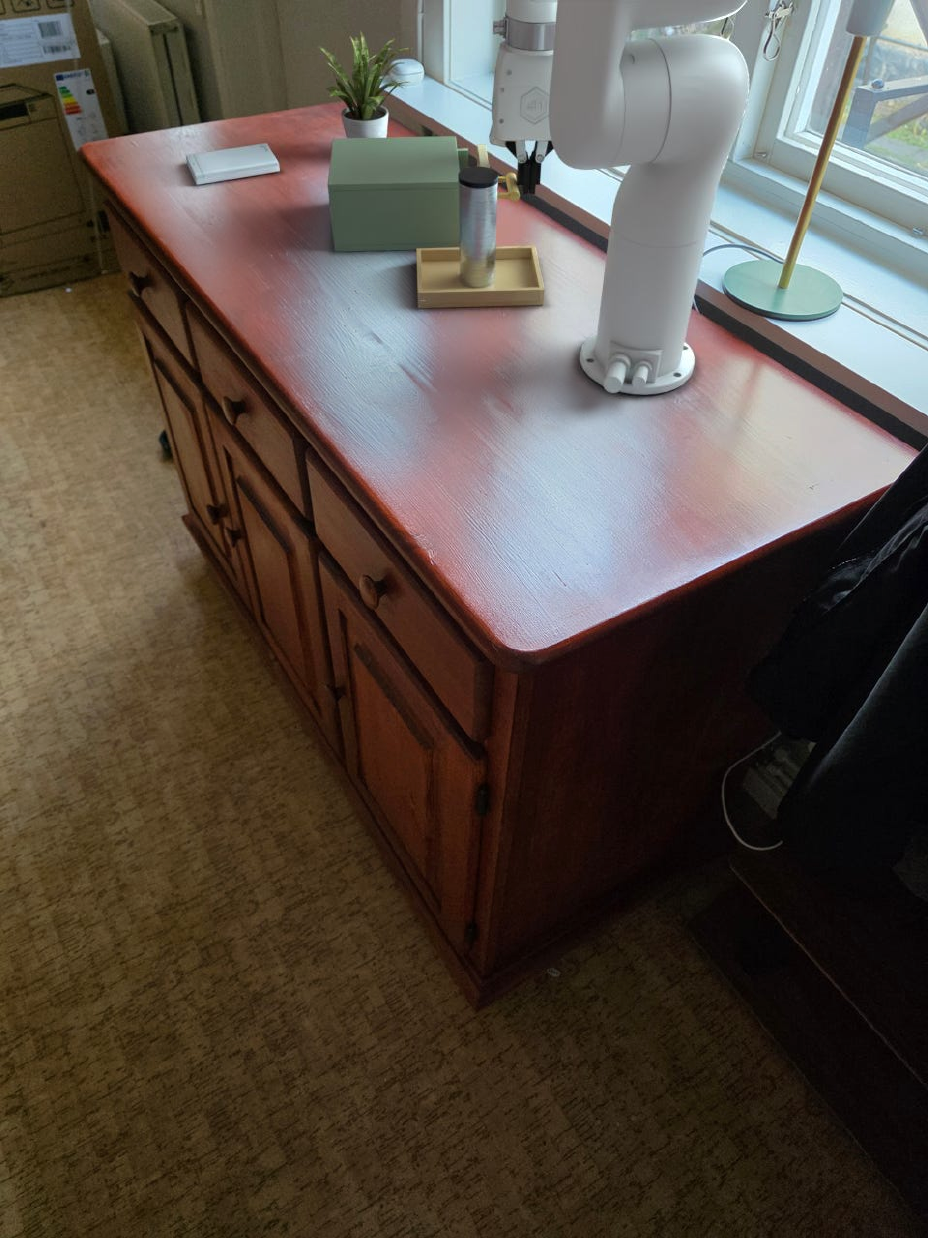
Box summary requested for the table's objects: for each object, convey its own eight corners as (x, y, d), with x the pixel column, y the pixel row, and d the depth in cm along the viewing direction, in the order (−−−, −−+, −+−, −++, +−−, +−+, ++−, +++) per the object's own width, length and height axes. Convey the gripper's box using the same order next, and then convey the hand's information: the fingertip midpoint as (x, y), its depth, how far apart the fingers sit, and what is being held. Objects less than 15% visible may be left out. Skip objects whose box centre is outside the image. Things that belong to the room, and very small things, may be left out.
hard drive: (266, 141, 136) (184, 153, 133) (278, 161, 131) (194, 174, 128) (267, 152, 138) (187, 164, 135) (280, 173, 133) (197, 185, 130)
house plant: (438, 163, 135) (436, 39, 123) (359, 185, 130) (348, 58, 117) (389, 133, 143) (383, 14, 130) (313, 152, 138) (298, 30, 125)
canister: (489, 290, 109) (492, 185, 99) (454, 285, 110) (453, 180, 100) (499, 273, 112) (503, 168, 102) (465, 267, 112) (465, 164, 103)
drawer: (512, 194, 126) (514, 143, 121) (521, 238, 117) (523, 185, 112) (375, 197, 125) (371, 146, 120) (373, 241, 116) (369, 188, 111)
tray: (534, 260, 115) (535, 245, 113) (543, 304, 107) (544, 289, 106) (416, 263, 114) (416, 247, 113) (418, 308, 107) (417, 292, 105)
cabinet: (456, 200, 127) (455, 135, 120) (461, 248, 117) (461, 181, 110) (339, 202, 126) (332, 137, 120) (334, 251, 116) (327, 184, 110)
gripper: (475, 43, 102) (473, 203, 116) (603, 41, 103) (587, 201, 117) (472, 22, 107) (471, 178, 121) (595, 21, 108) (579, 177, 122)
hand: (528, 189), depth 119 cm, fingers closed
